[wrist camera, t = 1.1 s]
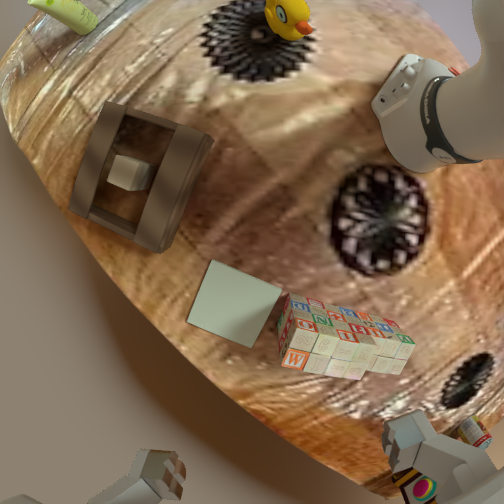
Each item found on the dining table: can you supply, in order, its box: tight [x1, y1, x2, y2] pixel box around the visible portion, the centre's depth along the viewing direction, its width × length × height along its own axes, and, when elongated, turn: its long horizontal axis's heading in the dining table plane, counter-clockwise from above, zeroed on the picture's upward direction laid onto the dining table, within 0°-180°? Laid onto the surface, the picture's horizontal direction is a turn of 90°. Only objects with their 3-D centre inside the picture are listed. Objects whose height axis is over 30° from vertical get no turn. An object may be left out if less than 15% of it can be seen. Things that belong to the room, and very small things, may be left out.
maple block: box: [107, 155, 157, 191], centre depth 39 cm, size 4×4×7 cm
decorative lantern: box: [392, 468, 443, 504], centre depth 45 cm, size 20×20×30 cm
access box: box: [68, 101, 214, 254], centre depth 39 cm, size 18×18×5 cm
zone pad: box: [187, 259, 282, 348], centre depth 46 cm, size 12×12×1 cm
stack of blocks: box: [277, 293, 416, 380], centre depth 41 cm, size 21×6×12 cm, turn 73°
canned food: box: [457, 415, 493, 450], centre depth 49 cm, size 8×8×12 cm
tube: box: [27, 0, 98, 35], centre depth 25 cm, size 6×5×20 cm
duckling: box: [265, 0, 312, 41], centre depth 31 cm, size 11×5×10 cm, turn 24°
